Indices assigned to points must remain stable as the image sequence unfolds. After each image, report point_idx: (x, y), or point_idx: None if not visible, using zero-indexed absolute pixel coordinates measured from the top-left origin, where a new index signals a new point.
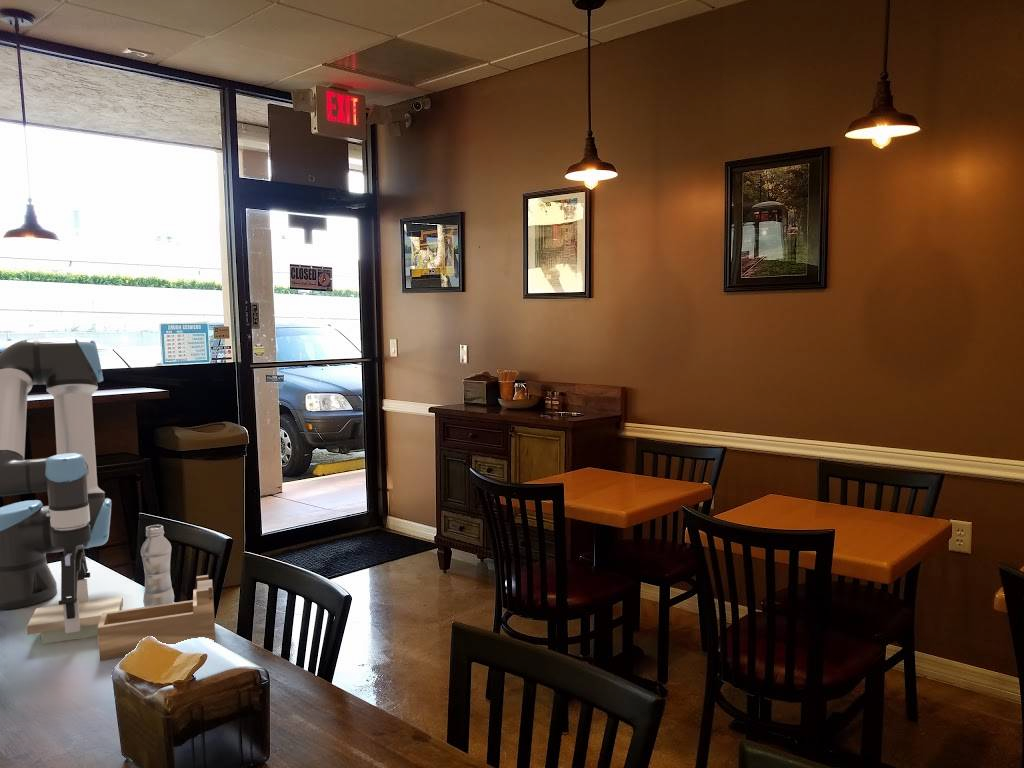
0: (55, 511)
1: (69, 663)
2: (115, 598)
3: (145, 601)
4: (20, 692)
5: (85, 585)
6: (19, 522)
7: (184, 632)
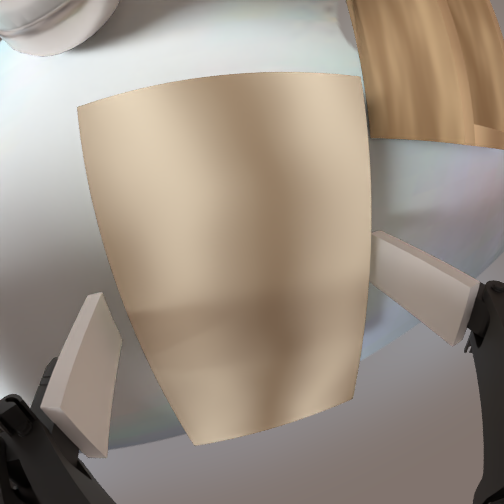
0: None
1: (436, 212)
2: (100, 141)
3: (87, 19)
4: (479, 262)
5: (75, 381)
6: None
7: None
